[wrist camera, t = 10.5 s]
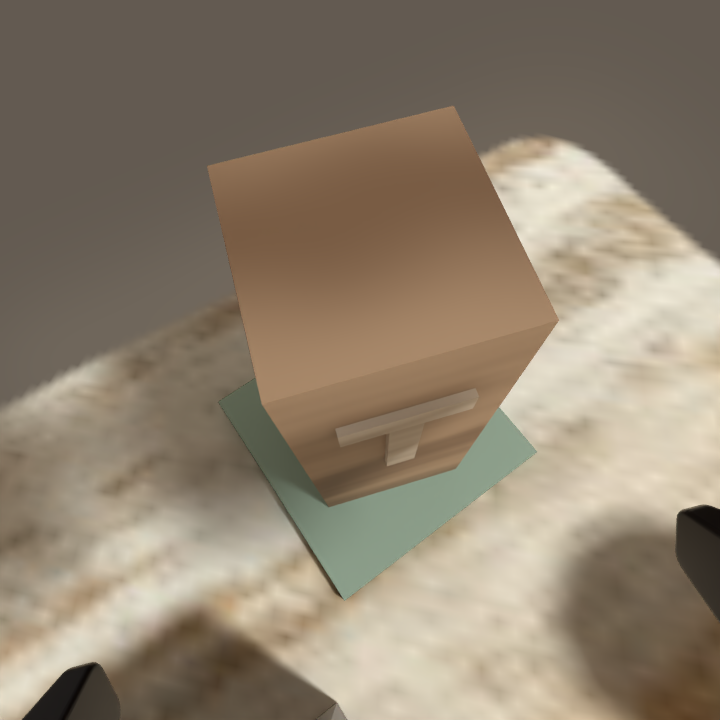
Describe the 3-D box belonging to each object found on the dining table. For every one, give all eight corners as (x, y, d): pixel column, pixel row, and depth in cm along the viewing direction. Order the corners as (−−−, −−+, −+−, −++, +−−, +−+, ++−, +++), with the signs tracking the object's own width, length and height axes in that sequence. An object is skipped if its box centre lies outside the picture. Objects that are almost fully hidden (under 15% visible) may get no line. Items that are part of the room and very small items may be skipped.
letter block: (457, 474, 20) (564, 330, 9) (330, 512, 20) (264, 416, 8) (414, 353, 22) (453, 105, 11) (297, 386, 22) (207, 166, 10)
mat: (534, 454, 21) (537, 451, 20) (345, 600, 19) (344, 600, 19) (395, 291, 24) (395, 287, 23) (220, 404, 22) (218, 401, 22)
